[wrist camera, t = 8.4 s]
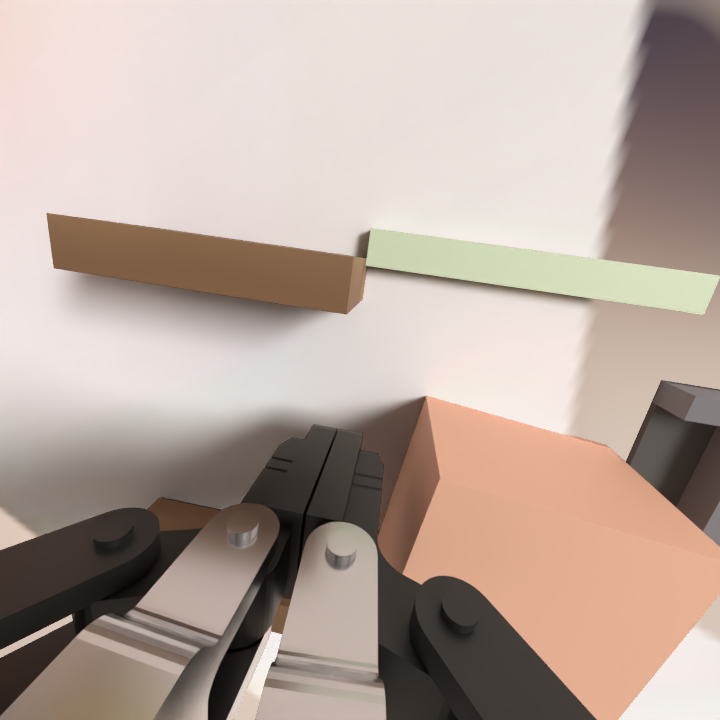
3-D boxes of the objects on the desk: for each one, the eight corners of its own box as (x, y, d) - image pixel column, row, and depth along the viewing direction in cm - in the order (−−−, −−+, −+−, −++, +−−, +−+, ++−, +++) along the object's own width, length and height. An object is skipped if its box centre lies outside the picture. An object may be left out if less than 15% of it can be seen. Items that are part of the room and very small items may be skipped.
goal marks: (371, 229, 10) (370, 228, 9) (707, 275, 9) (721, 275, 8) (324, 572, 13) (322, 581, 13) (555, 623, 13) (559, 634, 12)
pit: (661, 380, 10) (695, 396, 9) (753, 394, 10) (801, 413, 8) (581, 563, 12) (600, 595, 11) (655, 578, 12) (683, 613, 10)
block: (425, 393, 11) (440, 478, 7) (606, 444, 11) (742, 567, 6) (378, 532, 13) (365, 668, 9) (531, 578, 13) (598, 743, 8)
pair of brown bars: (145, 226, 10) (47, 213, 7) (367, 258, 10) (353, 257, 7) (161, 521, 14) (97, 589, 11) (326, 557, 13) (305, 639, 10)
